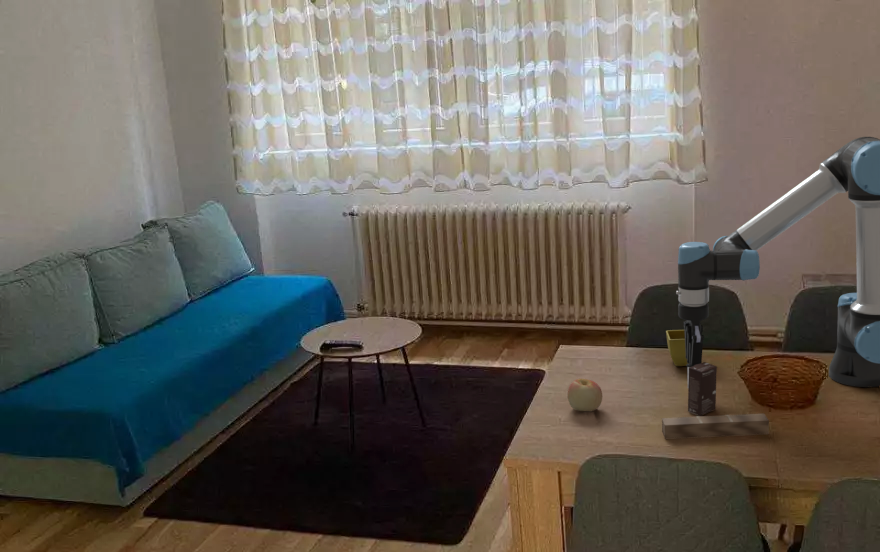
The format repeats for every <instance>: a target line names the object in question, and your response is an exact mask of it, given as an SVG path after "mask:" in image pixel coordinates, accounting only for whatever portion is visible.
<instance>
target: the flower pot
mask: <svg viewBox="0 0 880 552" xmlns="http://www.w3.org/2000/svg"><path fill="white" fill-rule="evenodd" d="M665 333H666V343H667V348H668V353H669V355H670V358H671V360H672V362H673V364H674V366H676V367H687V366H686V364H689V363H687V359H686V357H685V356H686V351H685V331H684V329H672V330H671V329H670V330H665Z"/></svg>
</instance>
